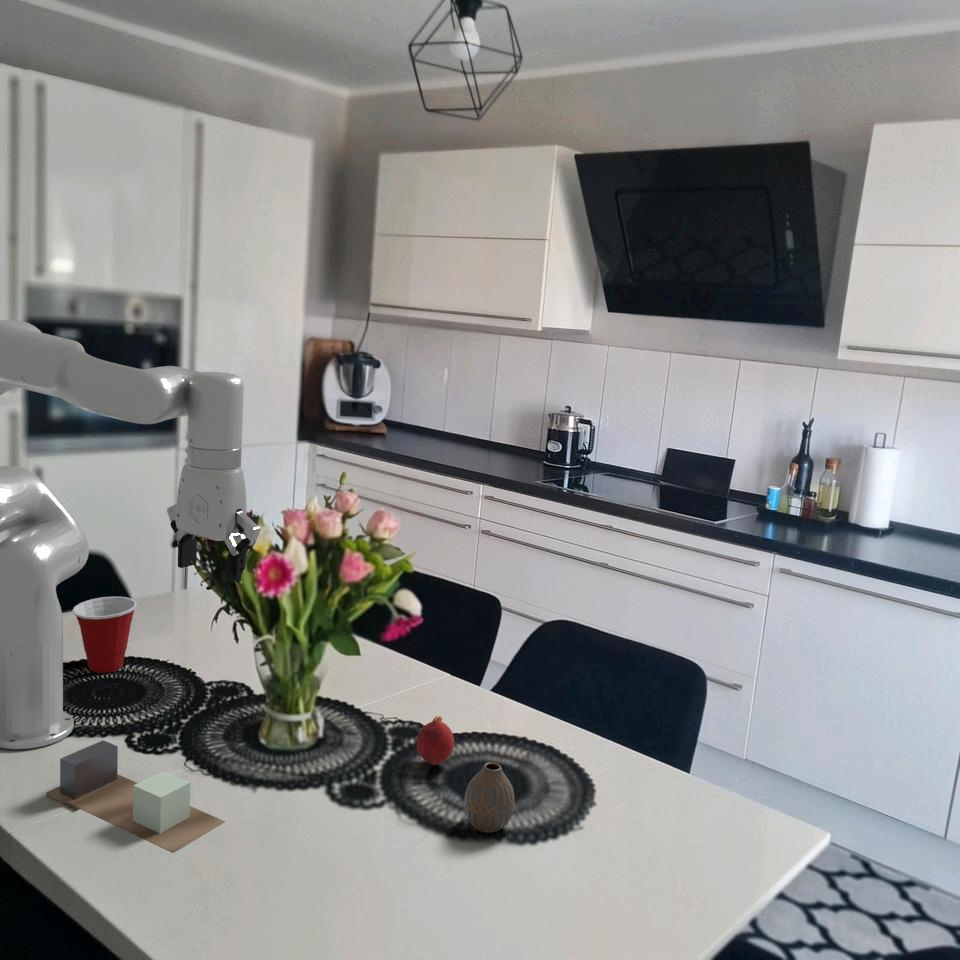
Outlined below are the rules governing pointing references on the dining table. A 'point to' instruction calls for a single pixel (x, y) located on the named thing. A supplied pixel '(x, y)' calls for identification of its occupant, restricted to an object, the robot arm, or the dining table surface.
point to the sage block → (161, 801)
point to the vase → (489, 799)
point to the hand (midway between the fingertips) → (210, 572)
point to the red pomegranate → (435, 741)
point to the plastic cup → (105, 631)
